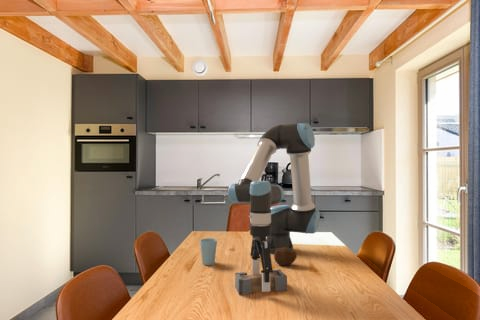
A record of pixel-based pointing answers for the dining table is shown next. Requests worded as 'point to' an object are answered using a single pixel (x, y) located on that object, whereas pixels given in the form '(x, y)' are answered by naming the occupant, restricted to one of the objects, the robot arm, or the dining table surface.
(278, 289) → the endcap
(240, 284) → the endcap
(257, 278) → the dark brown block
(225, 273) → the dining table surface
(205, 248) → the cup
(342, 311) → the dining table surface
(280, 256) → the potato
